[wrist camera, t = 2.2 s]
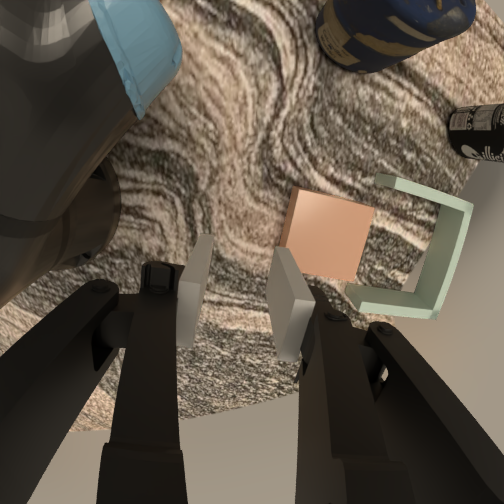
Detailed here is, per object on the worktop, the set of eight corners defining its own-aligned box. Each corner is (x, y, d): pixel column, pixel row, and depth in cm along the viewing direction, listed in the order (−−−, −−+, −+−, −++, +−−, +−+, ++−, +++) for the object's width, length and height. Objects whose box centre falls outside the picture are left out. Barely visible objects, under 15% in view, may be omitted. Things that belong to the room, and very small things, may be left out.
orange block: (276, 256, 35) (280, 268, 31) (292, 185, 33) (299, 189, 29) (342, 268, 36) (353, 281, 32) (360, 201, 34) (374, 208, 30)
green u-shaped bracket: (344, 292, 36) (358, 311, 32) (376, 172, 32) (396, 176, 28) (417, 302, 37) (436, 319, 33) (449, 197, 33) (473, 204, 29)
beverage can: (482, 157, 32) (547, 166, 20) (448, 158, 32) (516, 168, 20) (477, 108, 30) (541, 105, 18) (441, 106, 30) (508, 99, 18)
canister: (394, 22, 27) (485, -38, 9) (386, 88, 29) (494, 53, 12) (318, -5, 26) (373, -98, 9) (305, 62, 28) (367, -16, 11)
